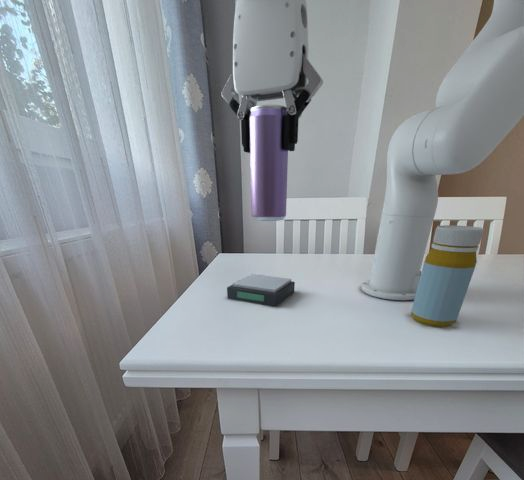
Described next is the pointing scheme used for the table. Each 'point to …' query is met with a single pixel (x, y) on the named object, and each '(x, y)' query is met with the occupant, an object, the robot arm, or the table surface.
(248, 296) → the scale
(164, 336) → the table surface
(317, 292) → the table surface
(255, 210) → the beverage can
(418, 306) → the bottle
